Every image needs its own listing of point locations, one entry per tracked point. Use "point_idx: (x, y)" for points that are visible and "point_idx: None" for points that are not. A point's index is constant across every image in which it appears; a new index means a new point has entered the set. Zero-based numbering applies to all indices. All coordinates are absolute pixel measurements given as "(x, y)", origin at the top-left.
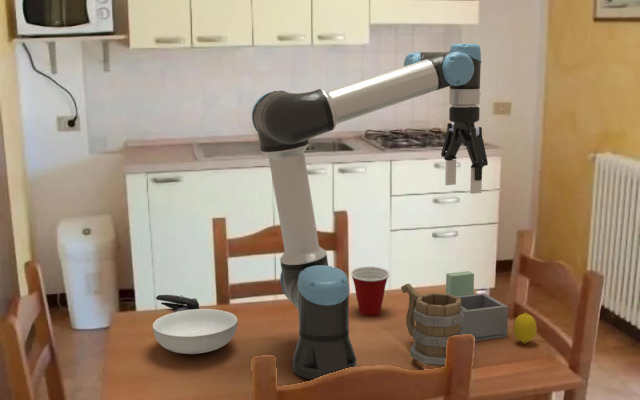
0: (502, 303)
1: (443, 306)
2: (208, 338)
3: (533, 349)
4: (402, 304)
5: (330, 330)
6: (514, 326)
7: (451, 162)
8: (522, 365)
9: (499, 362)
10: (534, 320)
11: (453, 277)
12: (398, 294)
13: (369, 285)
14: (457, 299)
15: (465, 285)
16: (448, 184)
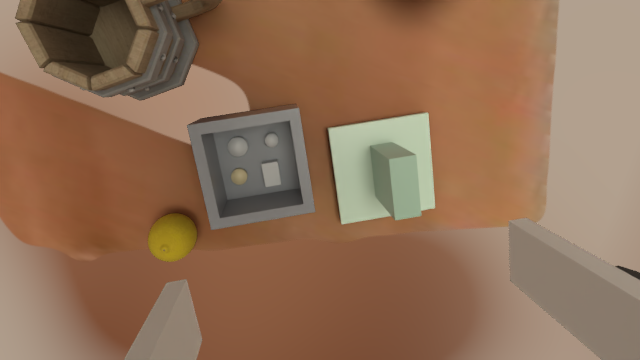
0: (234, 225)
1: (16, 16)
2: None
3: None
4: (452, 59)
5: None
6: (172, 217)
7: (638, 346)
8: (73, 183)
9: (91, 147)
10: (158, 258)
11: (388, 164)
12: (520, 71)
13: None
14: (78, 77)
15: (385, 190)
16: (511, 235)
